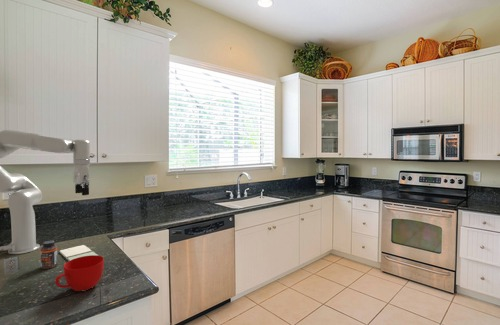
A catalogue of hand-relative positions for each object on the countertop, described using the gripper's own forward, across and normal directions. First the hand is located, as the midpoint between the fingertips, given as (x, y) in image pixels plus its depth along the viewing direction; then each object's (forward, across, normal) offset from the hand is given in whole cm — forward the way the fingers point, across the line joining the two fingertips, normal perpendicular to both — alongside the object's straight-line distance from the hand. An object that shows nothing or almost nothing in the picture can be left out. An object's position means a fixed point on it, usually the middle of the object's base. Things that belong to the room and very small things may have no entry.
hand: (82, 194), depth 144 cm
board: (+28, +15, -6) cm, 33 cm away
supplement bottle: (+29, +18, -19) cm, 39 cm away
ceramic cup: (+28, +51, -18) cm, 61 cm away
